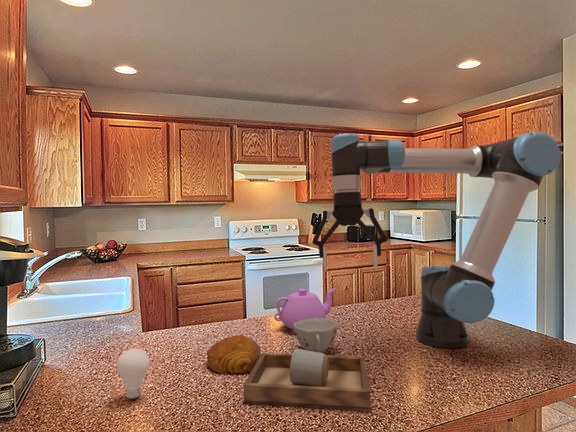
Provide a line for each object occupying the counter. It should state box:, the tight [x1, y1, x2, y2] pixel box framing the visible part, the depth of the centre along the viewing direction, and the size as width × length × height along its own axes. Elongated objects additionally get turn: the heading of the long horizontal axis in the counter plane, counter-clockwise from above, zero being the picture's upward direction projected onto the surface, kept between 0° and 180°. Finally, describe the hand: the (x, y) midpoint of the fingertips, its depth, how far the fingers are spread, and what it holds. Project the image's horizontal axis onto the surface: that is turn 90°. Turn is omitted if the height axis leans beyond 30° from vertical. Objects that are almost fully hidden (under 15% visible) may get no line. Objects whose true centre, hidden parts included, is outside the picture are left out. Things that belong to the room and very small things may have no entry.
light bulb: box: [116, 347, 150, 400], centre depth 85 cm, size 7×7×11 cm
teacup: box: [294, 317, 338, 354], centre depth 111 cm, size 15×12×8 cm
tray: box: [243, 352, 371, 412], centre depth 89 cm, size 26×18×4 cm
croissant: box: [206, 334, 262, 375], centre depth 104 cm, size 14×16×8 cm
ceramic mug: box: [290, 348, 329, 386], centre depth 91 cm, size 11×8×8 cm
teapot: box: [273, 287, 337, 335], centre depth 132 cm, size 22×16×14 cm
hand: (350, 269), depth 106 cm, fingers open, 13 cm apart
